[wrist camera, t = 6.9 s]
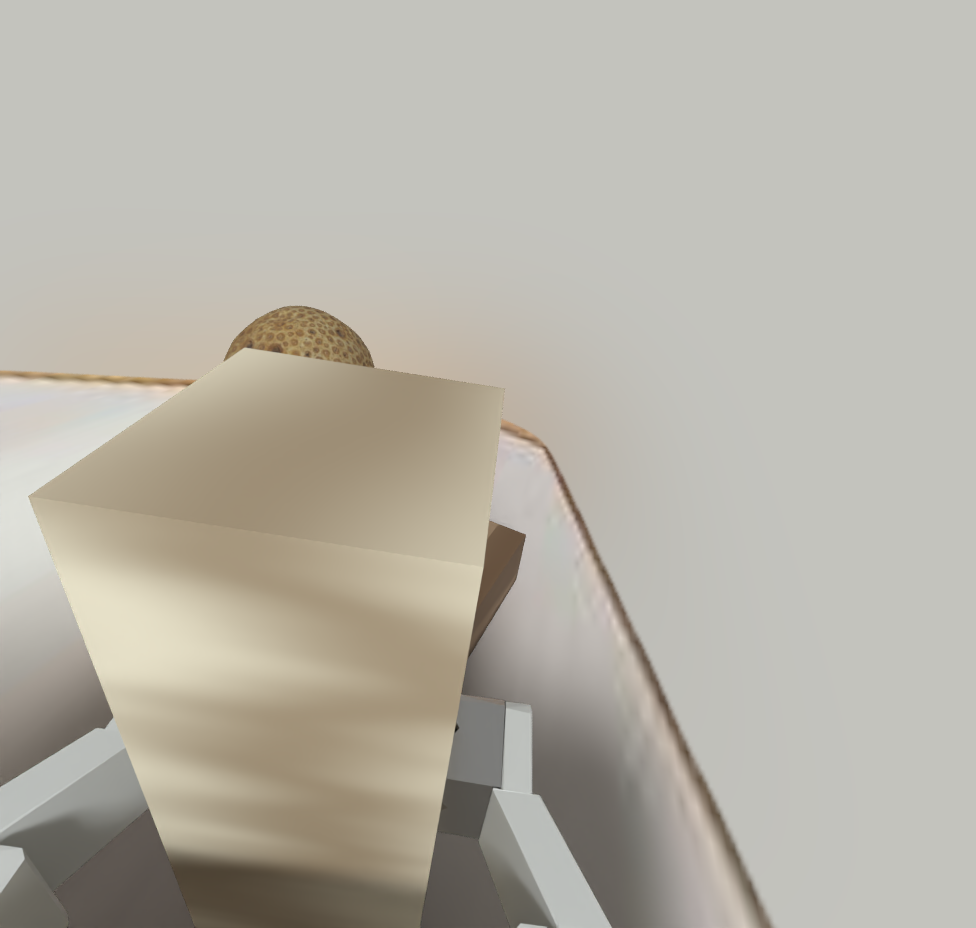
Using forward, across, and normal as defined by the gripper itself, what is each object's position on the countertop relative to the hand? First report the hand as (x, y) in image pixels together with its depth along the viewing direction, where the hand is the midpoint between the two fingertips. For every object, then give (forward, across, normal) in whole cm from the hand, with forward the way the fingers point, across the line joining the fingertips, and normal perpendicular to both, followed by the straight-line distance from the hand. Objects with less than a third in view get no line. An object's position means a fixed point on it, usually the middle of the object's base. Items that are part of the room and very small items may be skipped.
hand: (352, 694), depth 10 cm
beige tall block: (-1, 0, -8) cm, 8 cm away
